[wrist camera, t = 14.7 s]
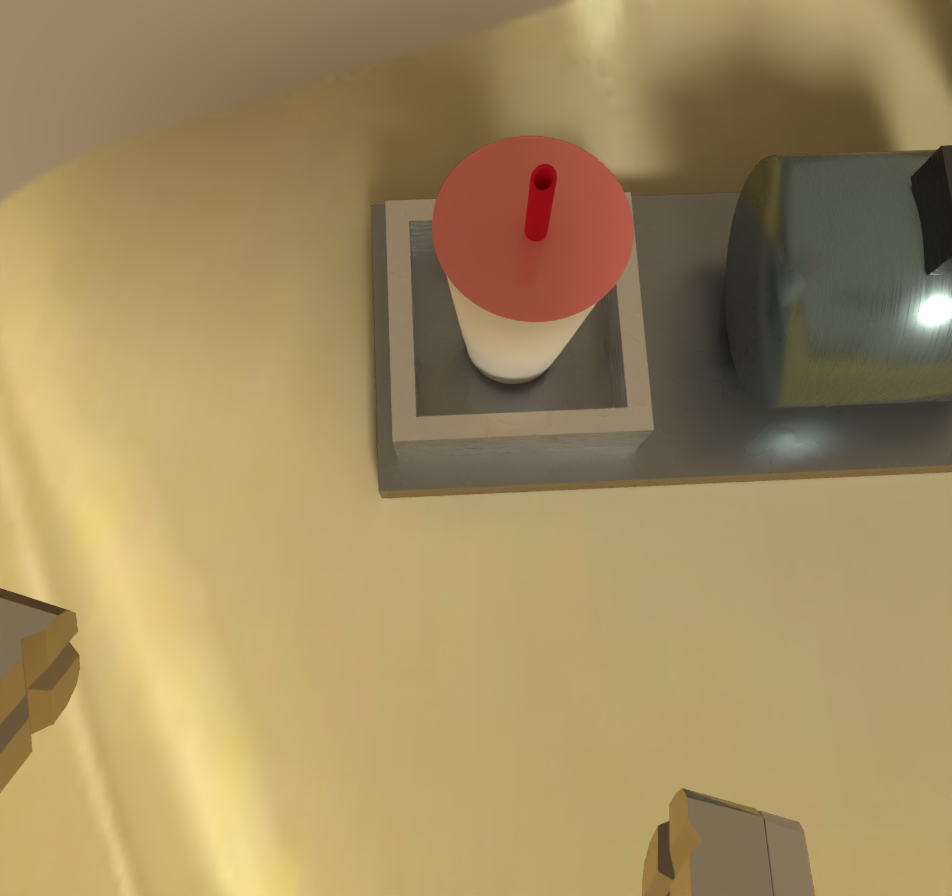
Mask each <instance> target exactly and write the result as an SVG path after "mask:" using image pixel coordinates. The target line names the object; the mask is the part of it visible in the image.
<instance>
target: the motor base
mask: <svg viewBox="0 0 952 896" xmlns="http://www.w3.org/2000/svg"><path fill="white" fill-rule="evenodd" d="M625 194H626V197H627V199H628V202H629V205H630V208H631V212H632V217H633V225H634V237H633V246H632V251H631V255H630V258H629V261H628V263H627V266H626V268H625V270H624V272H623V274H622V275H621V277H620V279H619V280H618V282H617V283H616V284H615V286H614V287H613V288H612V289H611V290H610V291H609V292H608V293H607V294H606V295H605V296H604V297H603V298H602V299H601V300H599V301H598V302H597V303H596V304H595V306H594V307H593V309H592V310H591V311H590V313H589V314H588V316H587V317H586V318H585V320H584V321H583V323H582V324H581V325H580V327H579V328H578V329H577V331H576V332H575V334H574V335H573V336H572V338H571V339H570V340H569V342H568V343H567V345H566V346H565V347H564V349H563V350H562V351H561V353H560V354H559V355H558V357H557V358H556V359H555V360H554V361H553V363H552V364H551V365H550V367H549V368H548V369H547V370H546V371H545V372H544V373H543V374H542V375H540V376H539V377H537V378H535V379H533V380H531V381H529V382H525V383H521V384H505V383H500V382H497V381H494V380H492V379H490V378H488V377H487V376H485V375H484V374H482V373H481V372H480V371H479V370H478V369H477V368H476V367H475V365H474V364H473V362H472V361H471V359H470V357H469V354H468V351H467V348H466V345H465V341H464V339H463V335H462V332H461V328H460V324H459V321H458V317H457V313H456V310H455V306H454V302H453V298H452V295H451V291H450V287H449V283H448V279H447V276H446V274H445V272H444V270H443V268H442V267H441V264H440V262H439V260H438V257H437V255H436V251H435V248H434V243H433V237H432V216H433V210H434V206H435V202H436V199H419V200H390V201H385V205H371V214H372V252H373V290H374V328H375V366H376V404H377V442H378V480H379V493H380V495H381V497H382V498H399V497H420V496H442V495H464V494H485V493H507V492H528V491H550V490H572V489H593V488H615V487H637V486H658V485H680V484H702V483H723V482H745V481H766V480H788V479H810V478H831V477H853V476H875V475H896V474H918V473H939V472H952V145H951V146H941V147H940V148H939V149H938V150H914V151H884V152H855V153H825V154H796V155H773V156H769V157H766V158H765V159H763V160H761V161H760V162H759V163H758V164H757V165H756V166H755V168H754V169H753V170H752V172H751V173H750V175H749V177H748V179H747V180H746V182H745V184H744V187H743V189H742V191H741V192H733V193H704V194H676V195H648V196H631V192H625Z"/></svg>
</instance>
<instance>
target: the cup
mask: <svg viewBox="0 0 952 896" xmlns="http://www.w3.org/2000/svg"><path fill="white" fill-rule="evenodd" d="M432 237H433V243H434V248H435V251H436V255H437V257H438V260H439V262H440V264H441V267H442V268H443V270H444V272H445V274H446V276H447V279H448V283H449V287H450V291H451V295H452V298H453V302H454V306H455V310H456V313H457V317H458V321H459V324H460V328H461V332H462V335H463V339H464V341H465V345H466V348H467V351H468V354H469V357H470V359H471V361H472V362H473V364H474V365H475V367H476V368H477V369H478V370H479V371H480V372H481V373H482V374H484V375H485V376H487V377H488V378H490V379H492V380H494V381H497V382H500V383H505V384H521V383H525V382H529V381H531V380H533V379H535V378H537V377H539V376H540V375H542V374H543V373H544V372H545V371H546V370H547V369H548V368H549V367H550V365H551V364H552V363H553V361H554V360H555V359H556V358H557V357H558V355H559V354H560V353H561V351H562V350H563V349H564V347H565V346H566V345H567V343H568V342H569V340H570V339H571V338H572V336H573V335H574V334H575V332H576V331H577V329H578V328H579V327H580V325H581V324H582V323H583V321H584V320H585V318H586V317H587V316H588V314H589V313H590V311H591V310H592V309H593V307H594V306H595V304H596V303H597V302H598V301H599V300H601V299H602V298H603V297H604V296H605V295H606V294H607V293H608V292H609V291H610V290H611V289H612V288H613V287H614V286H615V284H616V283H617V282H618V280H619V279H620V277H621V275H622V274H623V272H624V270H625V268H626V266H627V263H628V261H629V258H630V255H631V251H632V246H633V237H634V225H633V217H632V212H631V208H630V205H629V202H628V199H627V197H626V194H625V192H624V190H623V188H622V187H621V185H620V183H619V182H618V180H617V179H616V178H615V176H614V175H613V174H612V173H611V171H610V170H609V169H608V168H607V167H606V166H605V165H604V164H603V163H602V162H600V161H599V160H598V159H597V158H595V157H594V156H593V155H591V154H590V153H588V152H587V151H585V150H583V149H581V148H579V147H577V146H575V145H573V144H570V143H568V142H565V141H562V140H558V139H554V138H549V137H542V136H519V137H512V138H507V139H503V140H499V141H496V142H493V143H491V144H488V145H486V146H484V147H482V148H480V149H478V150H476V151H475V152H473V153H472V154H470V155H469V156H468V157H466V158H465V159H464V160H463V161H461V162H460V163H459V164H458V165H457V166H456V167H455V168H454V170H453V171H452V172H451V173H450V175H449V176H448V177H447V179H446V180H445V182H444V184H443V185H442V187H441V189H440V191H439V194H438V196H437V199H436V202H435V206H434V210H433V216H432Z"/></svg>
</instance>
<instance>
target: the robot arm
mask: <svg viewBox="0 0 952 896" xmlns="http://www.w3.org/2000/svg"><path fill="white" fill-rule="evenodd" d="M77 632H78V628H77V619H76V613H74V612H72V611H69V610H66V609H63V608H60V607H57V606H54V605H51V604H48V603H45V602H42V601H38V600H35V599H32V598H29V597H26V596H23V595H20V594H17V593H14V592H10V591H7V590H4V589H1V588H0V793H1V791H2V790H3V789H4V787H5V786H6V785H7V784H8V782H9V781H10V780H11V778H12V777H13V776H14V775H15V773H16V772H17V771H18V769H19V768H20V767H21V765H22V764H23V763H24V762H25V760H26V759H27V758H28V756H29V755H30V754H31V752H32V736H31V734H33V733H35V732H37V731H39V730H41V729H44V728H46V727H48V726H50V725H52V724H54V722H55V721H56V720H57V718H58V717H59V716H60V714H61V713H62V711H63V710H64V709H65V707H66V706H67V704H68V702H69V700H70V697H71V695H72V693H73V691H74V689H75V687H76V685H77V680H78V675H79V670H80V660H79V654H78V653H77V651H76V650H75V649H74V647H73V646H72V645H71V643H70V642H69V641H70V640H71V639H72V638H73V636H74V635H75V634H76V633H77ZM642 896H815V891H814V886H813V880H812V874H811V868H810V863H809V857H808V851H807V846H806V840H805V834H804V830H803V828H802V827H801V825H800V823H799V822H796V821H793V820H790V819H786V818H783V817H779V816H776V815H773V814H769V813H766V812H762V811H757V810H756V809H755V808H751V807H748V806H744V805H740V804H737V803H733V802H730V801H726V800H722V799H719V798H715V797H712V796H708V795H704V794H701V793H697V792H694V791H690V790H686V789H683V788H682V789H681V790H679V791H678V792H676V794H675V796H674V797H673V799H672V801H671V803H670V804H669V821H668V822H665V823H663V824H661V825H658V826H657V828H656V830H655V832H654V835H653V837H652V839H651V841H650V843H649V847H648V851H647V855H646V858H645V862H644V871H643V879H642Z"/></svg>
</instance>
